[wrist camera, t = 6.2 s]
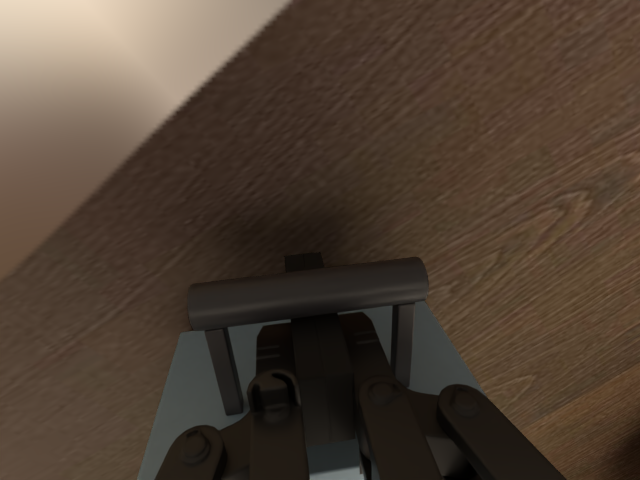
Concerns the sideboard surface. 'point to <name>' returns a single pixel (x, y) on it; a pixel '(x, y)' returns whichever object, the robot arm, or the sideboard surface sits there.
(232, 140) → the sideboard surface
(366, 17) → the sideboard surface
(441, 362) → the drawer
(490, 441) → the robot arm
